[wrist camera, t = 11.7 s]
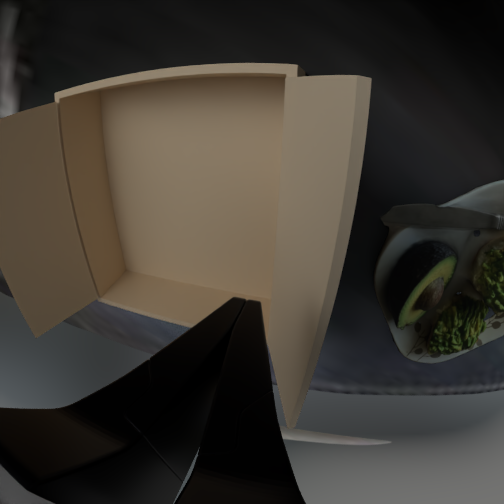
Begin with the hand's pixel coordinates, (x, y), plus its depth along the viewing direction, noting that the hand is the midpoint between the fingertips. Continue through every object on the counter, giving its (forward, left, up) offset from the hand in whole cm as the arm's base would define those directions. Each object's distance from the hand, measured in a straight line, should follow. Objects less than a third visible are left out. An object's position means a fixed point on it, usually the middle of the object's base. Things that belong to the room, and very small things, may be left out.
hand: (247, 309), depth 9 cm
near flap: (-1, +2, -4) cm, 5 cm away
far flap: (+17, +2, -4) cm, 17 cm away
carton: (+8, +2, -13) cm, 15 cm away
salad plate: (-15, +6, -13) cm, 21 cm away
